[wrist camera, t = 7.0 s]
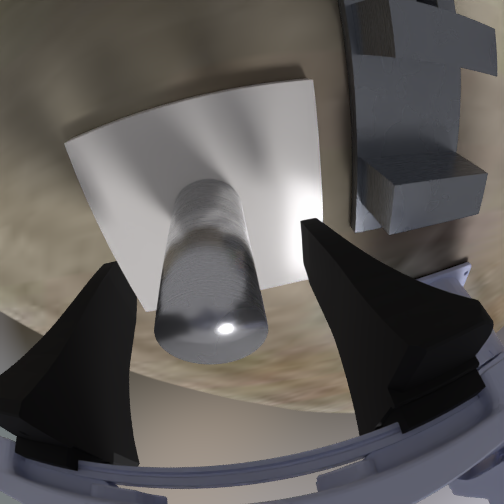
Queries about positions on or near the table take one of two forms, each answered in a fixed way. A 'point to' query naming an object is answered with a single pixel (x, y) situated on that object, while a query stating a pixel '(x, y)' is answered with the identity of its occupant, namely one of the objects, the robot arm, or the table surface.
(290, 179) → the coaster
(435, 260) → the table surface
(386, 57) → the vise
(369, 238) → the table surface
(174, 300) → the steel pin
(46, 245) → the table surface
